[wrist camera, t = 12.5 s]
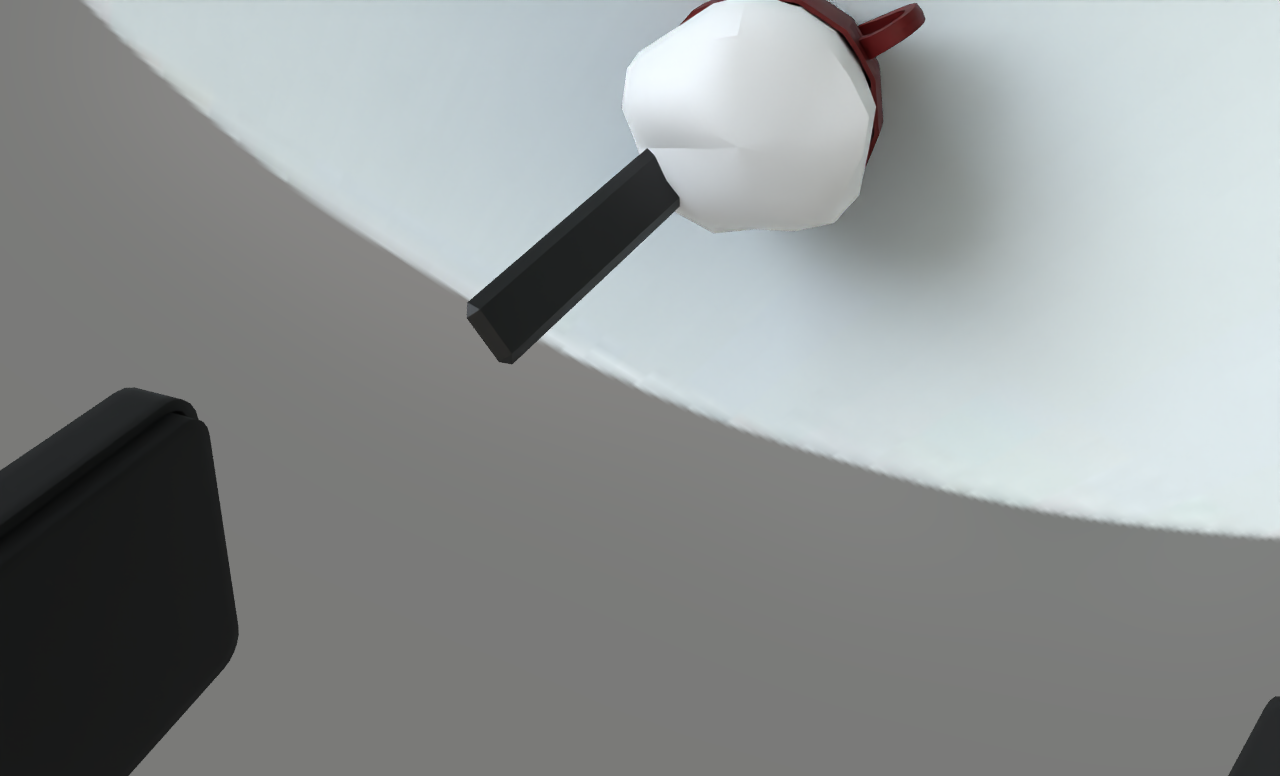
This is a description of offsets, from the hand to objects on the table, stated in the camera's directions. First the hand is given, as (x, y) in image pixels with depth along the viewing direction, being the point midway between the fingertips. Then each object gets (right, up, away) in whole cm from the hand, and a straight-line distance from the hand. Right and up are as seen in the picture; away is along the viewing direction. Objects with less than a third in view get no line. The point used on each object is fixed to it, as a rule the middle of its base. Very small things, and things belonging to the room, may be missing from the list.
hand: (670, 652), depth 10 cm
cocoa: (+4, +11, +22) cm, 25 cm away
